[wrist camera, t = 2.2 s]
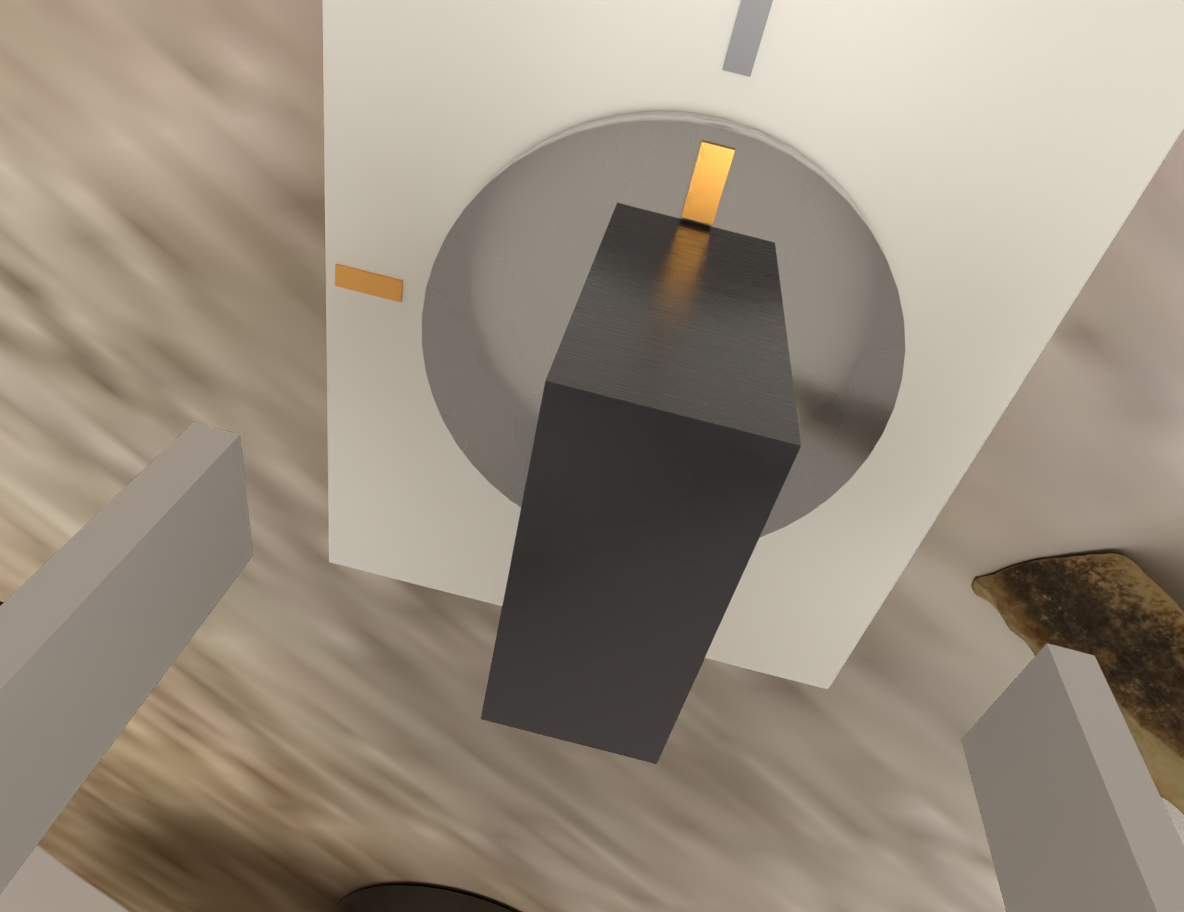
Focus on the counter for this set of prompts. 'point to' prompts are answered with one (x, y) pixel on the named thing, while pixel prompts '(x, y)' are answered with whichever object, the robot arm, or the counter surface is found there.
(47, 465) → the counter surface
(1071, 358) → the counter surface
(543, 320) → the dial
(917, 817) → the counter surface
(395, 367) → the dial panel
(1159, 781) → the rock
